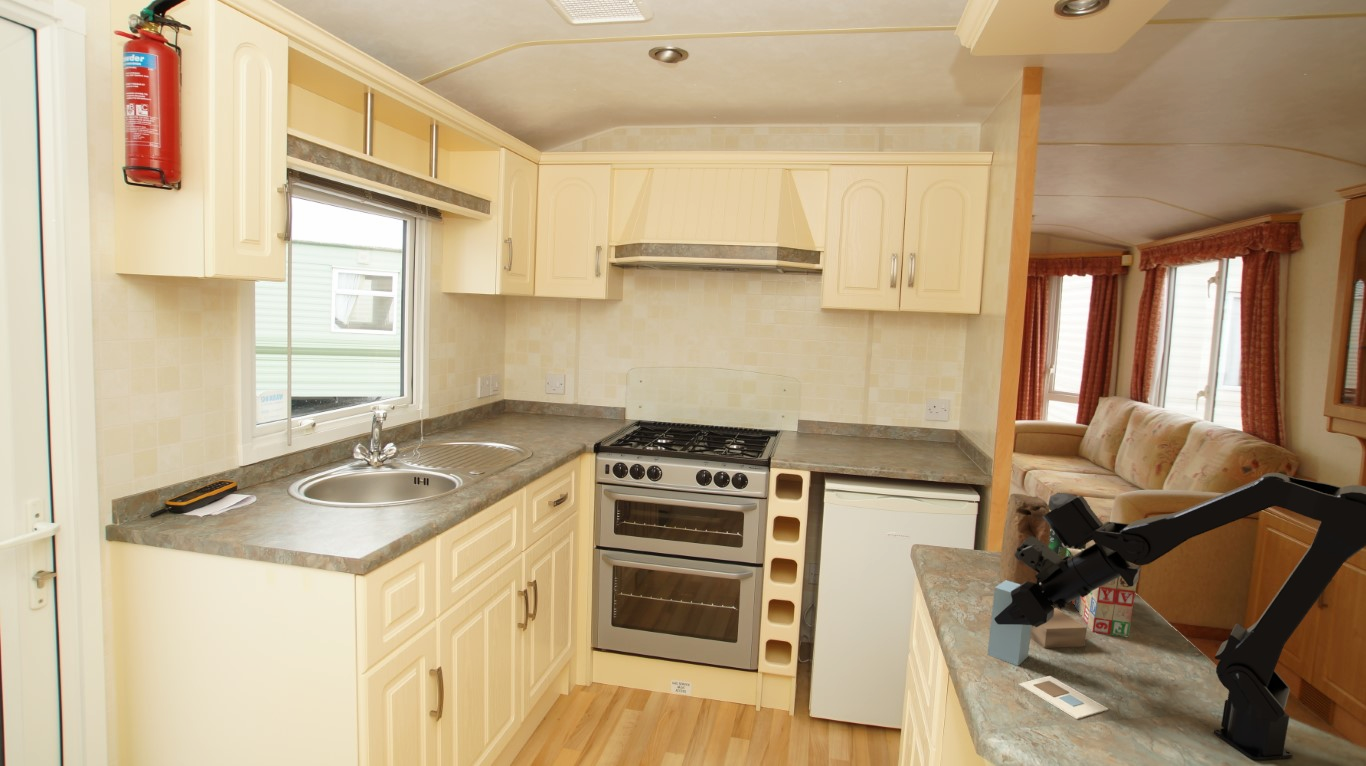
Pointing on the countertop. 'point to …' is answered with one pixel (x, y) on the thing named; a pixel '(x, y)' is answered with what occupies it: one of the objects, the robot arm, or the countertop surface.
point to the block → (1022, 535)
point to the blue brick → (1007, 630)
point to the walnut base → (1059, 632)
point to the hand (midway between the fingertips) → (1006, 613)
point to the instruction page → (1063, 697)
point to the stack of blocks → (1107, 605)
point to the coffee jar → (1054, 541)
